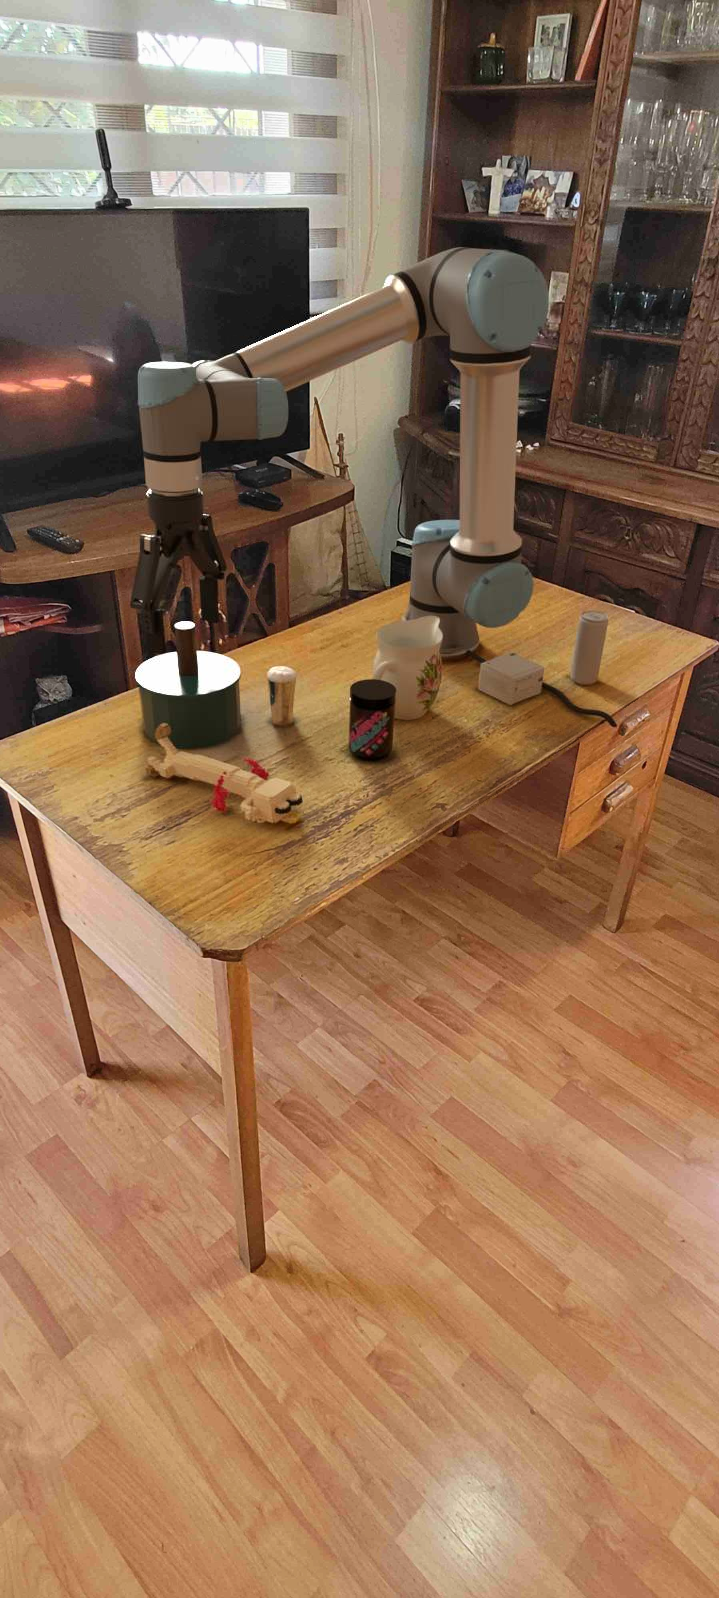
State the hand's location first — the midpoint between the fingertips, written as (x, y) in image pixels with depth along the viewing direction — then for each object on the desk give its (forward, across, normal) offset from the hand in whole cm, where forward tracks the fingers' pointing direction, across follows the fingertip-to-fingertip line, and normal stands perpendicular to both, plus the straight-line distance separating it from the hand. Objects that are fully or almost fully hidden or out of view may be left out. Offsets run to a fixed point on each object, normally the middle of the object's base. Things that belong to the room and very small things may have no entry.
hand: (184, 636), depth 137 cm
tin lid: (+6, 0, 0) cm, 6 cm away
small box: (+15, -36, +40) cm, 56 cm away
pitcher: (+15, -20, +27) cm, 37 cm away
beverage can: (+15, -47, +50) cm, 70 cm away
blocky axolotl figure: (+15, +15, +16) cm, 27 cm away
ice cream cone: (+15, -8, +12) cm, 21 cm away
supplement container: (+15, -6, +28) cm, 32 cm away
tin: (+15, 0, 0) cm, 15 cm away
